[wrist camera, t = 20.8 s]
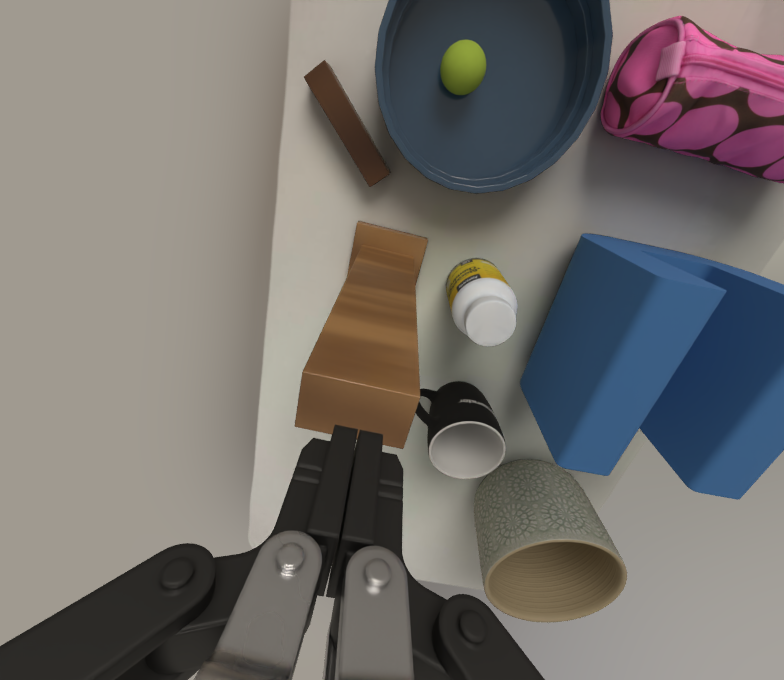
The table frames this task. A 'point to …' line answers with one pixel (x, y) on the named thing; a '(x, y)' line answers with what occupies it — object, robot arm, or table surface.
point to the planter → (543, 545)
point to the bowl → (491, 85)
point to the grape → (463, 67)
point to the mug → (462, 431)
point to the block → (661, 365)
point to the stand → (369, 342)
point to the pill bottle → (481, 302)
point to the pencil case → (699, 98)
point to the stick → (347, 123)
